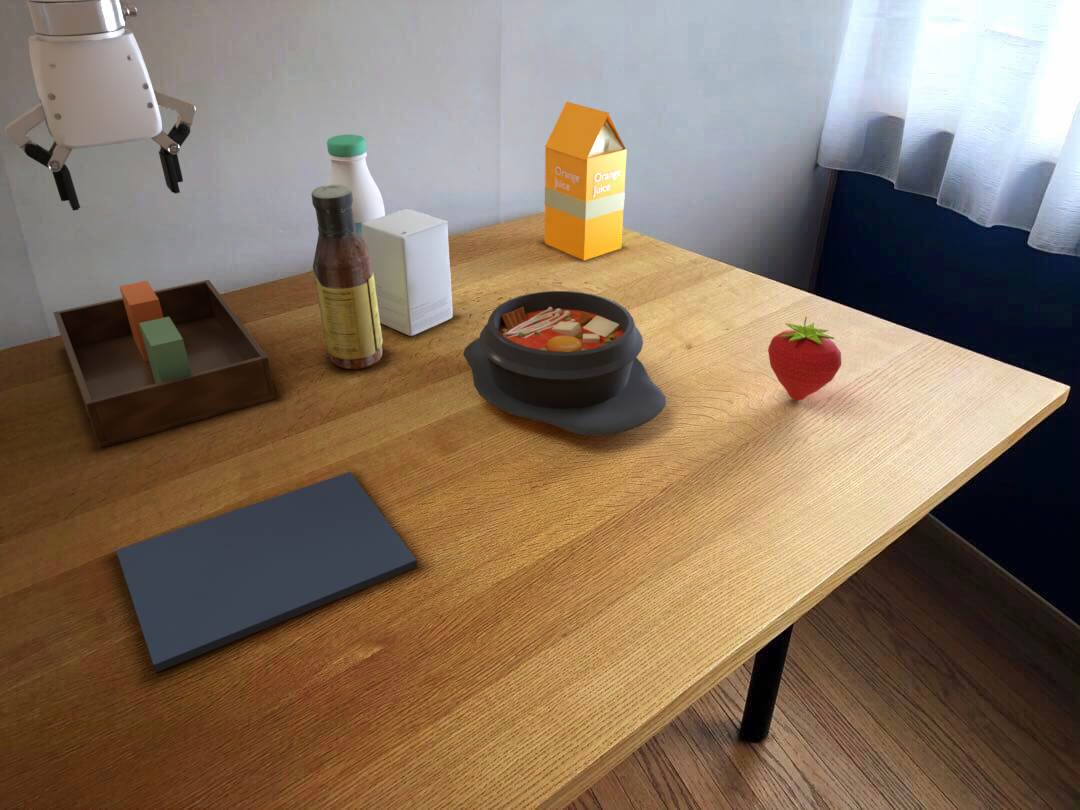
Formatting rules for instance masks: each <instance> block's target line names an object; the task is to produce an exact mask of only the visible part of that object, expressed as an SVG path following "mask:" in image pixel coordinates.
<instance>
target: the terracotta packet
mask: <svg viewBox="0 0 1080 810" xmlns="http://www.w3.org/2000/svg"><path fill="white" fill-rule="evenodd" d="M119 291H120V293H121V298H123V301H124V305H125V309H126V312H127V316H128V320H129V323H130V327H131V330H132V334H133V338H134V341H135V343H136V345H137V347H138V349H139V351H140V353H141V355H142V357H143V359H144V361H145V362H147V361H149V358H148V354H147V350H146V347H145V343H144V339H143V336H142V332H141V328H140V324H139V323H142V322H147V321H151V320H156V319H160V318H163V314H162V310H161V306H160V302H159V299H158V297H157V296H156V294H155V293H154V291H155V290H154V288H152V286H151V284H150V283H149V281H148V280H143V281H138V282H133V283H128V284H124V285H123V284H122V285H120V286H119Z"/></svg>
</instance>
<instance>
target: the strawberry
mask: <svg viewBox="0 0 1080 810" xmlns="http://www.w3.org/2000/svg"><path fill="white" fill-rule="evenodd" d="M807 318H808V316H807V315H806V316H805V317H804V322H803V325H802V324H799V325H796V324H793V323H792V324H791V323H788V322H785V323H784V324H785V325H786V326H787V327H788V328H790V329H788V330H784V331H781V332H780V333H777V335H774V336H773V337H772V339H771V340H770V343H769V346H768V348H767V352H768V360H769V364H770V368H771V370H772V371H773V373H774V375H775V376H776V379H777V380H778V382H779V383H780V385H781V386H782V388H784V390H785V391H786V392H787V395H788V396H789V397H790V398H791V399H792V400H794V401H803V400H804V399H806V398H807V397H808V396H810V395H812V394H813V393H816V392H818V391H820V390H821V389H822V388H824V387H825V386H826V385H828V384H829V383H831V381H833V380H834V378H835V376H836V375H837V373H838V371H839V370H840V368H841V366H842V352H841V350H840V349H839V347H838V346H837V345H836V343H835V342H834V341H832V340H834V339H835V337H833V336H830V335H828V334H825V333H827V332H829V329H823V328H815V322H812V323H810V324H808V325H807V326H806V322H807Z"/></svg>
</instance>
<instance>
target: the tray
mask: <svg viewBox="0 0 1080 810" xmlns="http://www.w3.org/2000/svg"><path fill="white" fill-rule="evenodd" d="M153 291H154V293H155V294H156V296H157V297H158V299H159V302H160V306H161V310H162V314H163V318H165V317H170V319H171V320H172V322H173V324H174V325H175V327H176V328H177V330H178V332H179V333H180V335H181V337H182V338H183V341H184V345H185V350H186V354H187V358H188V362H189V366H190V370H191V375H187V376H183V377H179V378H175V379H171V380H167V381H164V382H160V383H155V380H154V376H153V373H152V369H151V365H150V362H149V361H147V362H145V361H144V359H143V357H142V355H141V353H140V351H139V349H138V347H137V345H136V343H135V341H134V338H133V334H132V330H131V327H130V323H129V320H128V316H127V312H126V309H125V305H124V301H123V298H122V297H119V298H115V299H110V300H105V301H100V302H96V303H90V304H86V305H82V306H81V305H80V306H77V307H72V308H68V309H63V310H57V311H54V312H53V313H52V314H53V316H54V319H55V323H56V326H57V328H58V332H59V334H60V338H61V340H62V344H63V347H64V350H65V353H66V355H67V358H68V361H69V363H70V368H71V370H72V372H73V375H74V378H75V381H76V385H77V386H78V390H79V392H80V395H81V398H82V401H83V404H84V406H85V409H86V412H87V415H88V417H89V421H90V423H91V426H92V429H93V432H94V434H95V437H96V440H97V443H98V445H99V449H102V448H105V447H110V446H112V445H116V444H120V443H124V442H127V441H131V440H134V439H137V438H141V437H144V436H149V435H152V434H156V433H158V432H159V433H160V432H162V431H166V430H169V429H173V428H177V427H181V426H183V425H187V424H190V423H194V422H197V421H201V420H204V419H208V418H211V417H215V416H219V415H222V414H227V413H230V412H233V411H236V410H240V409H244V408H247V407H251V406H255V405H258V404H262V403H265V402H269V401H272V400H276V398H277V397H276V393H275V387H274V381H273V377H272V376H273V375H272V370H271V366H270V360H269V359H270V358H269V356H268V355H267V354H266V352H265V351H264V350H263V349H262V347H261V346H260V344H258V342H257V341H256V340H255V338H254V337H253V336H252V334H251V333H250V331H249V330H248V329H247V328H246V326H245V325H244V324H243V322H242V321H241V320H240V319H239V317H238V316H237V314H236V313H235V312H234V310H233V309H232V308H231V307H230V306H229V304H228V303H227V301H226V300H225V298H224V297H223V296H222V295H221V294H220V292H219V291H218V290H217V288H216V287H215V286H214V285H213V283H212V282H211V280H210V279H205V280H201V281H196V282H192V283H187V284H186V283H185V284H182V285H177V286H172V287H167V288H163V289H159V290H153Z"/></svg>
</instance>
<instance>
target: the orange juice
mask: <svg viewBox="0 0 1080 810" xmlns="http://www.w3.org/2000/svg"><path fill="white" fill-rule="evenodd" d="M544 148H545V153H544V154H545V155H544V156H545V157H544V158H545V161H544V164H545V166H544V171H545V172H544V181H545V182H544V244H545V245H547V246H550V247H552V248H553V249H554V248H555V249H557V250H559V251H561V252H563V253H566V254H568V255H570V256H573V257H574V258H577V259H580V260H582V261H586V260H589V259H593V258H596V257H599V256H602V255H605V254H608V253H610V252H613V251H617V250H620V249H622V240H623V224H624V209H625V197H626V195H625V194H626V189H625V188H626V187H625V186H626V172H627V171H626V170H627V152H628V149H627V148H626V147H625V145H624V142H623V141H622V138H621V137H620V135H619V132H618V131H617V129H616V126H615V124H614V122H613V120H612V118H611V116H610V115H609V112H607V111H604V110H600V109H596V108H593V107H589V106H585V105H582V104H577V103H573V102H570V101H565V104H564V106H563V108H562V110H561V112H560V114H559V116H558V118H557V120H556V123H555V125H554V127H553V129H552V131H551V133H550V135H549V136H548V139H547V141H546V143H545V145H544Z"/></svg>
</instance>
